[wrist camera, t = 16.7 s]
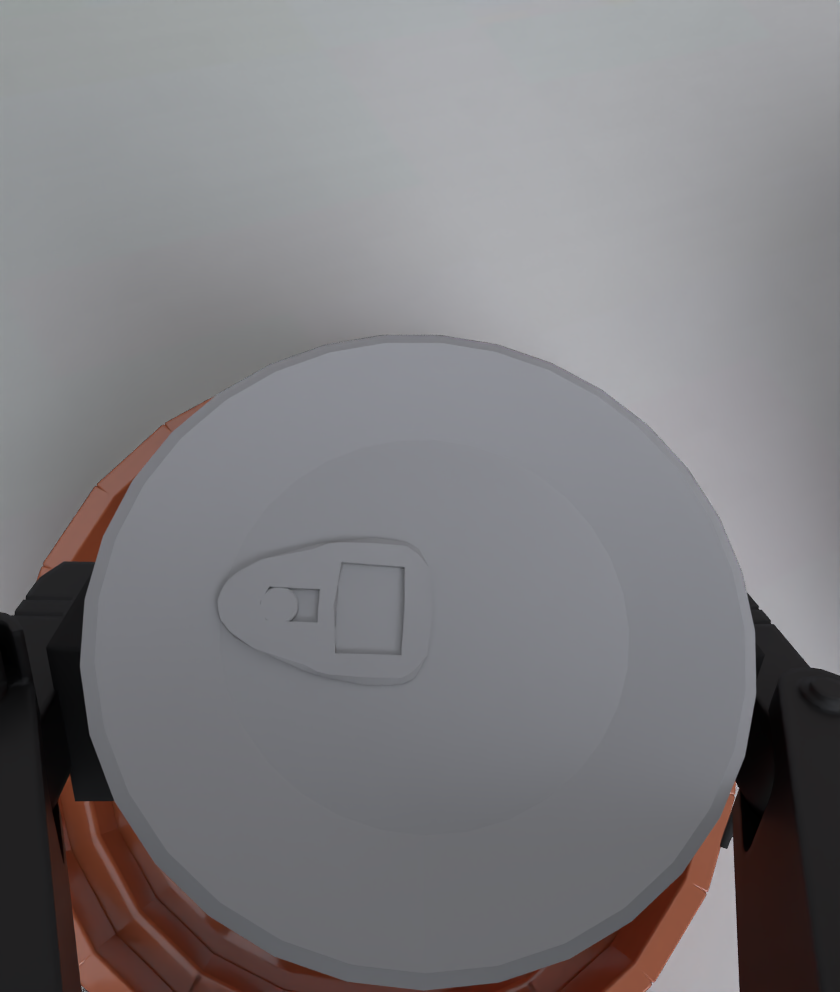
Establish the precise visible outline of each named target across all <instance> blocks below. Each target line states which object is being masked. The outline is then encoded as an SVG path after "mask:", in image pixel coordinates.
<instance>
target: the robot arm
mask: <svg viewBox="0 0 840 992" xmlns="http://www.w3.org/2000/svg"><path fill="white" fill-rule="evenodd" d="M94 565H95V562H77V561H63V562H62V563H60V564H59V565H57V566H56V567H54V568H53V569H51V570H50V571H48V572H47V573H45V574H44V575H42V576H41V577H39V579H38V580H37V581H36V583H35V584H34V586H33V587H32V588H31V590H30V591H29V592H28V594H27V595H26V600H23V601H22V602H21V604H20V605H19V606H18V608H17V609H16V611H15V615H14V616H10V615H8V614H6V613H1V612H0V992H82V990H81V982H80V973H79V964H78V955H77V947H76V938H75V929H74V921H73V912H72V903H71V894H70V886H69V877H68V868H67V860H66V851H65V842H64V833H63V825H62V818H61V813H60V808H59V803H58V799H59V797H60V794H61V792H62V790H63V788H64V786H65V783H66V781H67V779H68V777H69V775H70V777H71V783H72V788H73V793H74V798H75V801H114V799H113V796H112V793H111V791H110V788H109V785H108V783H107V780H106V777H105V775H104V772H103V769H102V767H101V764H100V761H99V759H98V756H97V753H96V751H95V748H94V745H93V743H92V740H91V737H90V735H89V727H88V720H87V713H86V706H85V699H84V692H83V685H82V678H81V671H80V656H81V643H82V629H83V615H84V602H85V596H86V593H87V589H88V586H89V583H90V579H91V576H92V572H93V569H94ZM747 596H748V601H749V606H750V610H751V615H752V620H753V624H754V629H755V653H756V698H755V704H754V709H753V715H752V720H751V726H750V731H749V737H748V742H747V748H746V753H745V757H744V760H743V762H742V765H741V767H740V770H739V772H738V775H737V777H736V780H735V781H736V783H737V785H738V787H739V791H738V794H737V796H736V799H735V802H734V805H733V807H732V810H731V813H730V816H729V818H728V821H727V824H726V827H725V830H724V832H723V835H722V839H721V843H720V847H723V848H726V849H727V848H728V845H729V842H730V840H731V838H732V837H733V844H734V867H735V891H736V915H737V939H738V963H739V986H740V992H840V676H839V675H836V674H833V673H830V672H828V671H825V670H822V669H816V668H810V667H809V665H808V664H807V663H806V662H805V661H804V659H803V658H802V657H801V656H800V655H799V654H798V652H797V651H796V650H795V649H794V648H793V646H792V645H791V644H790V643H789V642H788V640H787V639H786V638H785V637H784V636H783V635H782V633H781V632H780V631H779V630H778V629H777V627H776V626H775V625H774V624H771V620H770V619H769V618H768V617H767V616H766V614H765V613H764V612H763V611H762V610H759V606H758V605H757V604H756V603H755V601H754V600H753V599H752V598H751V597H750V595H749V594H748V593H747Z"/></svg>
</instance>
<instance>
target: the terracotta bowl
mask: <svg viewBox="0 0 840 992" xmlns="http://www.w3.org/2000/svg"><path fill="white" fill-rule="evenodd" d="M215 396H216V395H215ZM215 396H214V397H215ZM212 398H213V397H212ZM212 398H210V399H208V400H206V401H204V402H203V403H201V404H199V405H197V406H195V407H193V408H191V409H190V410H188V411H186V412H184V413H182V414H180V415H179V416H177V417H175V418H173V419H171V420H169V421H168V422H166V423H165V425H162V426H160V427H159V428H158V429H157V430H156V431H155V432H154V433H153V434H152V435H151V436H149V437H148V438H147V439H146V440H145V441H144V442H143V443H142V444H141V445H139V446H138V447H137V448H136V449H135V450H134V451H133V452H132V453H131V454H130V455H128V456H127V457H126V458H125V459H124V460H123V461H122V462H121V463H120V464H118V465H117V466H116V467H115V468H114V469H113V470H112V471H111V472H110V473H109V474H107V475H106V476H105V477H104V478H103V479H102V480H101V481H100V482H99V483H98V484H97V486H95V487H94V488H93V490H92V491H91V493H90V494H89V496H88V497H87V499H86V500H85V502H84V503H83V505H82V506H81V508H80V509H79V510H78V512H77V513H76V515H75V516H74V518H73V519H72V521H71V522H70V524H69V525H68V527H67V528H66V530H65V531H64V533H63V534H62V536H61V537H60V539H59V540H58V542H57V543H56V545H55V546H54V548H53V549H52V551H51V552H50V554H49V555H48V557H47V558H46V560H45V561H44V563H43V566H42V567H41V569H40V572H39V575H38V578H37V580H38V579H39V577H41V576H42V575H44V574H45V573H47V572H48V571H50V570H51V569H53V568H54V567H56V566H57V565H59V564H60V563H62V562H63V561H77V562H96V558H97V555H98V552H99V548H100V545H101V541H102V538H103V535H104V533H105V532H106V530H107V528H108V526H109V524H110V522H111V520H112V518H113V516H114V515H115V513H116V511H117V509H118V507H119V505H120V503H121V501H122V499H123V498H124V496H125V494H126V492H127V490H128V488H129V486H130V484H131V482H132V481H133V479H134V478H135V477H136V476H137V474H138V473H139V472H140V471H141V469H142V468H143V467H144V466H145V465H146V463H147V462H148V461H149V460H150V458H151V457H152V456H153V455H154V454H155V452H156V451H157V450H158V449H159V447H160V446H161V445H162V444H163V442H164V441H165V440H166V439H167V438H168V436H169V435H170V434H171V433H172V432H173V431H174V430H175V429H176V428H178V427H179V426H180V425H181V424H182V423H184V422H185V421H186V420H187V419H188V418H190V417H191V416H192V415H193V414H194V413H195V412H197V411H198V410H199V409H200V408H201V407H203V406H204V405H205V404H206V403H207V402H209V401H210V400H211V399H212ZM735 787H736V781H735V782H734V785H733V787H732V789H731V792H730V794H729V797H728V799H727V802H726V804H725V807H724V809H723V812H722V814H721V817H720V818H719V820H718V821H717V823H716V824H715V826H714V827H713V829H712V830H711V832H710V833H709V835H708V836H707V838H706V839H705V840H704V842H703V843H702V845H701V846H700V848H699V849H698V851H697V852H696V854H695V855H694V857H693V858H692V860H691V861H690V863H689V864H688V866H687V867H686V869H685V870H684V871H683V873H682V874H681V875H680V876H679V877H678V878H677V879H676V880H675V881H674V882H673V883H672V884H670V885H669V886H668V887H667V888H666V889H665V890H664V891H663V892H662V893H661V894H660V895H659V896H658V897H657V898H656V899H655V900H654V901H653V902H652V903H651V904H649V905H648V906H647V907H646V908H645V909H644V910H643V911H642V912H641V913H640V914H639V915H638V916H637V917H636V918H635V919H634V920H633V921H632V922H630V923H628V924H627V925H625V926H623V927H622V928H620V929H618V930H617V931H615V932H613V933H612V934H610V935H608V936H607V937H605V938H603V939H602V940H600V941H598V942H597V943H595V944H594V945H592V946H590V947H589V948H587V949H585V950H584V951H582V952H580V953H579V954H577V955H575V956H574V957H572V958H570V959H568V960H565V961H562V962H559V963H556V964H553V965H550V966H547V967H544V968H541V969H538V970H535V971H532V972H529V973H526V974H523V975H520V976H517V977H514V978H511V979H508V980H505V981H502V982H499V983H490V984H481V985H471V986H462V987H452V988H443V989H433V990H424V991H423V990H415V989H406V988H397V987H389V986H380V985H371V984H362V983H354V982H346V981H344V980H341V979H338V978H335V977H332V976H329V975H326V974H323V973H321V972H318V971H315V970H312V969H309V968H306V967H303V966H300V965H297V964H295V963H292V962H289V961H286V960H283V959H280V958H277V957H274V956H273V955H271V954H269V953H268V952H266V951H265V950H263V949H261V948H260V947H258V946H256V945H255V944H253V943H252V942H250V941H248V940H247V939H245V938H244V937H242V936H240V935H239V934H237V933H235V932H234V931H232V930H231V929H229V928H227V927H226V926H224V925H223V924H221V923H219V922H218V921H216V920H214V919H213V918H211V917H210V916H208V915H207V914H206V913H205V912H204V911H203V910H202V909H201V908H200V907H199V906H198V905H197V904H196V903H195V902H194V901H193V900H192V899H191V898H190V897H189V896H188V895H187V894H186V893H185V892H184V891H183V890H182V889H181V888H180V887H179V886H178V885H177V884H176V883H174V882H173V881H172V880H171V879H170V878H169V877H168V876H167V875H166V874H165V873H164V872H163V871H162V870H161V869H160V868H159V867H158V866H157V865H156V864H155V863H154V861H153V860H152V858H151V857H150V855H149V854H148V852H147V851H146V849H145V847H144V846H143V844H142V843H141V841H140V840H139V838H138V837H137V835H136V834H135V832H134V831H133V829H132V828H131V826H130V824H129V823H128V821H127V820H126V818H125V817H124V815H123V814H122V812H121V811H120V809H119V808H118V806H117V804H116V803H115V801H75V798H74V793H73V788H72V783H71V777H70V775H69V777H68V779H67V781H66V783H65V786H64V788H63V790H62V792H61V794H60V797H59V799H58V803H59V808H60V813H61V818H62V825H63V833H64V842H65V851H66V860H67V868H68V877H69V886H70V894H71V903H72V912H73V921H74V929H75V938H76V947H77V955H78V964H79V973H80V982H81V985H82V986H83V987H84V988H85V989H86V990H87V991H88V992H646V991H647V990H648V989H649V988H650V987H651V985H652V982H653V983H654V982H655V981H656V979H657V978H658V976H659V974H660V973H661V971H662V969H663V967H664V966H665V964H666V962H667V961H668V959H669V957H670V956H671V954H672V952H673V951H674V949H675V947H676V946H677V944H678V942H679V940H680V939H681V937H682V935H683V934H684V932H685V930H686V929H687V927H688V925H689V924H690V922H691V920H692V919H693V917H694V915H695V913H696V912H697V910H698V908H699V907H700V905H701V903H702V902H703V900H704V898H705V897H706V892H708V890H709V887H710V883H711V880H712V876H713V873H714V869H715V866H716V862H717V858H718V855H719V851H720V848H721V847H720V843H721V839H722V835H723V832H724V830H725V827H726V824H727V821H728V818H729V816H730V812H731V809H732V805H733V802H734V798H735V796H734V795H735Z"/></svg>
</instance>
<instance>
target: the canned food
mask: <svg viewBox="0 0 840 992" xmlns="http://www.w3.org/2000/svg"><path fill="white" fill-rule="evenodd" d="M80 671H81V678H82V685H83V692H84V699H85V706H86V713H87V720H88V727H89V735H90V737H91V740H92V743H93V745H94V748H95V751H96V753H97V756H98V759H99V761H100V764H101V767H102V769H103V772H104V775H105V777H106V780H107V783H108V785H109V788H110V791H111V793H112V796H113V799H114V801H115V803H116V804H117V806H118V808H119V809H120V811H121V812H122V814H123V815H124V817H125V818H126V820H127V821H128V823H129V824H130V826H131V828H132V829H133V831H134V832H135V834H136V835H137V837H138V838H139V840H140V841H141V843H142V844H143V846H144V847H145V849H146V851H147V852H148V854H149V855H150V857H151V858H152V860H153V861H154V863H155V864H156V865H157V866H158V867H159V868H160V869H161V870H162V871H163V872H164V873H165V874H166V875H167V876H168V877H169V878H170V879H171V880H172V881H173V882H174V883H176V884H177V885H178V886H179V887H180V888H181V889H182V890H183V891H184V892H185V893H186V894H187V895H188V896H189V897H190V898H191V899H192V900H193V901H194V902H195V903H196V904H197V905H198V906H199V907H200V908H201V909H202V910H203V911H204V912H205V913H206V914H207V915H208V916H210V917H211V918H213V919H214V920H216V921H218V922H219V923H221V924H223V925H224V926H226V927H227V928H229V929H231V930H232V931H234V932H235V933H237V934H239V935H240V936H242V937H244V938H245V939H247V940H248V941H250V942H252V943H253V944H255V945H256V946H258V947H260V948H261V949H263V950H265V951H266V952H268V953H269V954H271V955H273V956H274V957H277V958H280V959H283V960H286V961H289V962H292V963H295V964H297V965H300V966H303V967H306V968H309V969H312V970H315V971H318V972H321V973H323V974H326V975H329V976H332V977H335V978H338V979H341V980H344V981H346V982H354V983H362V984H371V985H380V986H389V987H397V988H406V989H415V990H423V991H424V990H433V989H443V988H452V987H462V986H471V985H481V984H490V983H499V982H502V981H505V980H508V979H511V978H514V977H517V976H520V975H523V974H526V973H529V972H532V971H535V970H538V969H541V968H544V967H547V966H550V965H553V964H556V963H559V962H562V961H565V960H568V959H570V958H572V957H574V956H575V955H577V954H579V953H580V952H582V951H584V950H585V949H587V948H589V947H590V946H592V945H594V944H595V943H597V942H598V941H600V940H602V939H603V938H605V937H607V936H608V935H610V934H612V933H613V932H615V931H617V930H618V929H620V928H622V927H623V926H625V925H627V924H628V923H630V922H632V921H633V920H634V919H635V918H636V917H637V916H638V915H639V914H640V913H641V912H642V911H643V910H644V909H645V908H646V907H647V906H648V905H649V904H651V903H652V902H653V901H654V900H655V899H656V898H657V897H658V896H659V895H660V894H661V893H662V892H663V891H664V890H665V889H666V888H667V887H668V886H669V885H670V884H672V883H673V882H674V881H675V880H676V879H677V878H678V877H679V876H680V875H681V874H682V873H683V871H684V870H685V869H686V867H687V866H688V864H689V863H690V861H691V860H692V858H693V857H694V855H695V854H696V852H697V851H698V849H699V848H700V846H701V845H702V843H703V842H704V840H705V839H706V838H707V836H708V835H709V833H710V832H711V830H712V829H713V827H714V826H715V824H716V823H717V821H718V820H719V818H720V817H721V814H722V812H723V809H724V807H725V804H726V802H727V799H728V797H729V794H730V792H731V789H732V787H733V785H734V782H735V780H736V777H737V775H738V772H739V770H740V767H741V765H742V762H743V760H744V757H745V753H746V748H747V742H748V737H749V731H750V726H751V720H752V715H753V709H754V704H755V698H756V653H755V629H754V624H753V620H752V615H751V610H750V606H749V601H748V596H747V591H746V587H745V582H744V577H743V573H742V570H741V568H740V565H739V563H738V561H737V558H736V556H735V553H734V551H733V549H732V546H731V544H730V541H729V539H728V537H727V534H726V532H725V529H724V527H723V525H722V522H721V520H720V517H719V516H718V514H717V513H716V511H715V510H714V508H713V507H712V505H711V503H710V502H709V500H708V499H707V497H706V496H705V494H704V493H703V491H702V490H701V488H700V486H699V485H698V483H697V482H696V480H695V479H694V477H693V476H692V474H691V473H690V471H689V469H688V468H687V467H686V466H685V465H684V464H683V462H682V461H681V460H680V459H679V458H678V457H677V456H676V455H675V454H674V453H673V452H672V451H671V450H670V448H669V447H668V446H667V445H666V444H665V443H664V442H663V441H662V440H661V439H660V438H659V437H658V435H657V434H656V433H655V432H654V431H653V430H652V429H651V428H650V427H649V426H648V425H647V424H646V423H645V422H643V421H642V420H641V419H639V418H638V417H637V416H635V415H634V414H633V413H631V412H630V411H629V410H628V409H626V408H625V407H624V406H622V405H621V404H620V403H618V402H617V401H616V400H615V399H613V398H612V397H611V396H609V395H608V394H607V393H605V392H604V391H603V390H601V389H599V388H598V387H596V386H594V385H592V384H590V383H588V382H586V381H584V380H583V379H581V378H579V377H577V376H575V375H573V374H571V373H570V372H568V371H566V370H564V369H562V368H560V367H558V366H556V365H555V364H553V363H550V362H547V361H545V360H542V359H539V358H536V357H533V356H530V355H527V354H524V353H521V352H518V351H515V350H512V349H509V348H506V347H503V346H500V345H497V344H492V343H486V342H479V341H473V340H467V339H461V338H455V337H449V336H443V335H380V336H374V337H368V338H362V339H356V340H350V341H345V342H339V343H333V344H327V345H323V346H320V347H318V348H315V349H312V350H309V351H306V352H303V353H300V354H298V355H295V356H292V357H289V358H286V359H283V360H281V361H278V362H275V363H272V364H269V365H268V366H266V367H264V368H262V369H261V370H259V371H257V372H255V373H254V374H252V375H250V376H248V377H247V378H245V379H243V380H241V381H239V382H238V383H236V384H234V385H232V386H231V387H229V388H227V389H225V390H224V391H222V392H220V393H218V394H217V395H216V396H215V397H213V398H212V399H211V400H210V401H209V402H207V403H206V404H205V405H204V406H203V407H201V408H200V409H199V410H198V411H197V412H195V413H194V414H193V415H192V416H191V417H190V418H188V419H187V420H186V421H185V422H184V423H182V424H181V425H180V426H179V427H178V428H176V429H175V430H174V431H173V432H172V433H171V434H170V435H169V436H168V438H167V439H166V440H165V441H164V442H163V444H162V445H161V446H160V447H159V449H158V450H157V451H156V452H155V454H154V455H153V456H152V457H151V458H150V460H149V461H148V462H147V463H146V465H145V466H144V467H143V468H142V469H141V471H140V472H139V473H138V474H137V476H136V477H135V478H134V479H133V481H132V482H131V484H130V486H129V488H128V490H127V492H126V494H125V496H124V498H123V499H122V501H121V503H120V505H119V507H118V509H117V511H116V513H115V515H114V516H113V518H112V520H111V522H110V524H109V526H108V528H107V530H106V532H105V533H104V535H103V538H102V541H101V545H100V548H99V552H98V555H97V558H96V562H95V565H94V569H93V572H92V576H91V579H90V583H89V586H88V589H87V593H86V596H85V602H84V615H83V629H82V643H81V656H80Z"/></svg>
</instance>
